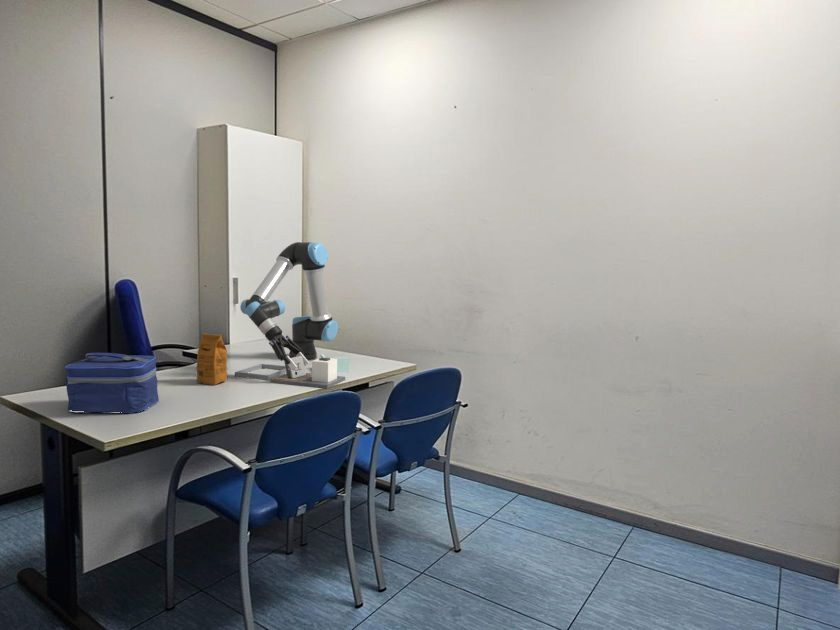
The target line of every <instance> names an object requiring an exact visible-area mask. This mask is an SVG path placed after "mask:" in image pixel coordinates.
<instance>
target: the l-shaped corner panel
mask: <svg viewBox="0 0 840 630" xmlns="http://www.w3.org/2000/svg"><path fill="white" fill-rule="evenodd" d="M322 357H324V358H327V357H326V356H325V355H324V353H321V354H320V358H322ZM330 358H331V359H337V372H341V374H343V373H342V372H346V373H349V371H350V368H349V367H350V365H349V363H350V360H349V359H350V358H349V357H348V356H347V357H346V356H344V357H330Z"/></svg>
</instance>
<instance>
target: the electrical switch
mask: <svg viewBox="0 0 840 630" xmlns="http://www.w3.org/2000/svg"><path fill="white" fill-rule="evenodd" d="M290 359H291V360H292V361H293V362H294V363H295V365H296V366H297V367H296V368H295V369H294V370H293V371H292V370H291V368H290V367H289V366H288V365H287V364H286V362H285V361H284V360H283V362H284V366H285V367H286V372H287V376H288V378H289V377H291V378H292V379H293V378H297V377H301V376H304V375H306V373H307V372H306V368H305V367H306V366H304V362H303V358H302V356H298V357H293V358H290ZM288 368H289V370H288Z"/></svg>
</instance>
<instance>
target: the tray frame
mask: <svg viewBox="0 0 840 630" xmlns="http://www.w3.org/2000/svg"><path fill="white" fill-rule="evenodd" d="M266 368H267V369H269V370H276V369H277V371H275V372H272V373H269V374H261V373H252V372H255V371H258V370H260V369H266ZM257 369H258V370H257ZM267 369H266V370H267ZM254 370H255V371H254ZM288 370H289V368H288ZM251 371H252V372H251ZM248 372H249V373H248ZM285 373H287V372H286V367H285V365H279V364H268V363H260V364H257V365H252V366H250V367H247V368H244V369H243V368H242V369H241V370H237V371H235V372H234V376H235V377H236V376H240V377H239V378H246V377H249V378H248V379H255V378H256V379H258V380H266V381H269V380H271V379H273V378H275V377H278V376H280V375H283V374H285Z"/></svg>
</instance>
